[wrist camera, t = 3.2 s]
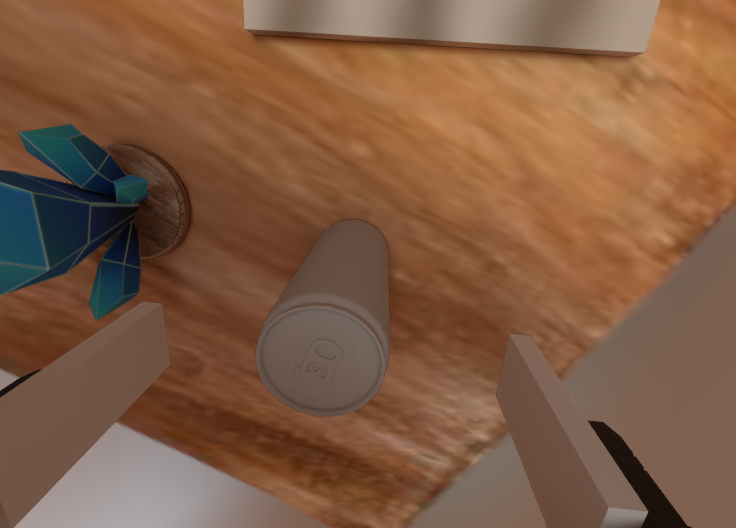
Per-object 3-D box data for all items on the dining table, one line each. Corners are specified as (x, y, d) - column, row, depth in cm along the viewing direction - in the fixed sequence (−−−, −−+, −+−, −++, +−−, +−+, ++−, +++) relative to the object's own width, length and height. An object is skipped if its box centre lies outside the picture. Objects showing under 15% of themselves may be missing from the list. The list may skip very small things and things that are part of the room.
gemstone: (64, 231, 24) (-211, 319, 13) (103, 112, 22) (-205, 95, 10) (167, 287, 26) (-9, 412, 14) (216, 180, 23) (46, 231, 12)
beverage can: (305, 268, 24) (232, 388, 13) (333, 203, 23) (279, 278, 12) (370, 298, 25) (354, 438, 14) (402, 236, 23) (415, 339, 12)
